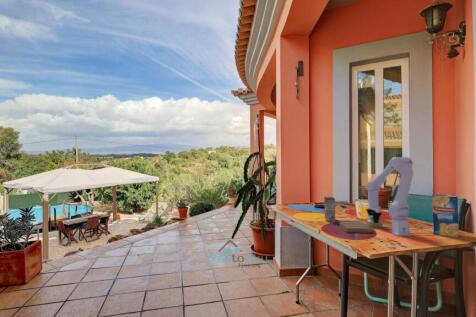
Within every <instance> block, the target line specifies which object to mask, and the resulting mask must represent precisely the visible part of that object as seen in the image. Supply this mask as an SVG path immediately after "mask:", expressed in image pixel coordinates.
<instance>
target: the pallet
mask: <svg viewBox="0 0 476 317" xmlns="http://www.w3.org/2000/svg"><path fill="white" fill-rule="evenodd" d="M365 224H366V225H367V226H369V227H370V228H383V221H382V220H381V219H379V222H378V223H374V221H371V220H369V218H365Z"/></svg>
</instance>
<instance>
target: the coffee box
mask: <svg viewBox="0 0 476 317" xmlns="http://www.w3.org/2000/svg"><path fill="white" fill-rule="evenodd" d="M323 200H324V220H325V221H326V222H336V199H335V197H334V196H324V199H323Z"/></svg>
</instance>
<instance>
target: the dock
mask: <svg viewBox="0 0 476 317" xmlns="http://www.w3.org/2000/svg"><path fill="white" fill-rule="evenodd" d="M338 226H339V227H341V228H342V229H343V230H344V231H345V232H346V233H355V234H356V233H357V234H358V233H362V234H364V233H365V234H366V233H367V234H371V233H372V232H373V227H369V226H367V225H366V223H365V222H363V221H362V220H351V219H350V220H341V219H340V220H338Z"/></svg>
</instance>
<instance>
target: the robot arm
mask: <svg viewBox="0 0 476 317" xmlns="http://www.w3.org/2000/svg"><path fill="white" fill-rule="evenodd" d="M413 164H414V162H413V161H412V159H411V158H410V157H408V156H401V157H398V156H394V157H392V158H391V159H390V160H389V161H388V164H387V165H386V167H385V168H384V169H383V170H382V172H381V173H377V174H375V176H374V178H372V179H371V180H370V181H367V182H366V185H365V188H366V190H367V196H368V198H367V199H368V200H367V201H368V204H367V208H366V209H365V211H366V213H367V216H368V215H369V216H373V220H374V223H378V222H379V220H380V217H381V216H382V212H381V211H380V209H382V208H381V206H379V192H380V189H381V186H382V185H383V184H384V183H385V182H386V181H387V176H389V175H391V173H392V172H394V171H397V172H398V173H399V175H400V177H399V183H398V187H397V190H396V195H395V199H394V201H393V202H392V203H391V204H390V206H389V208H388V211H387V213H388V214H389V216H390V219H391V229H390V230H389V232H390V233H392V234H393V235H395V236H397V237H398V236H399V237H400V236H401V237H405V236H406V237H407V236H408V237H412V234H411V231H410V230H411V229H410V227H411V226H410V223H409V221H408V220H407V218H408V216H409V215H410V212H411V211H410V205H409V204H408V203H407V202H408V197H409V193H410V190H411V189H410V188H411V184H412V181H413V177H414V169H413ZM369 216H368V217H369Z"/></svg>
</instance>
